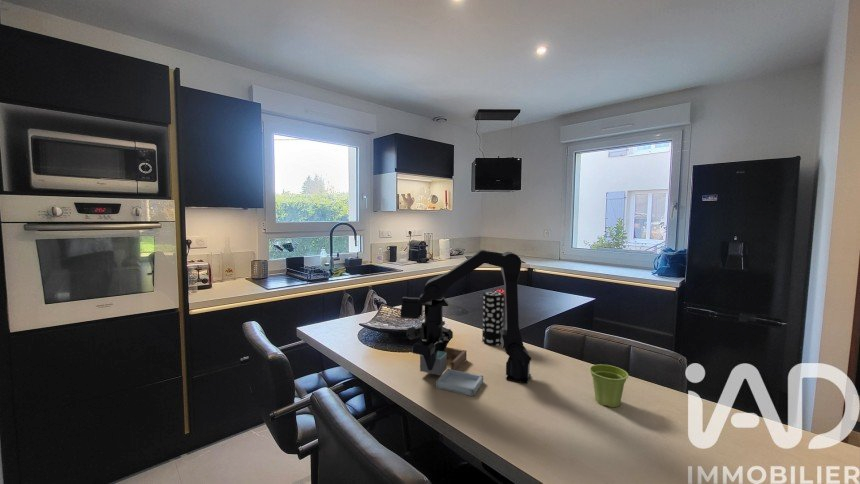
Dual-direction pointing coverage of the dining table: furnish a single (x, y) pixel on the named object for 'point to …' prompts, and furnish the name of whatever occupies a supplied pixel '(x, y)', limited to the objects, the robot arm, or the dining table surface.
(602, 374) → the plant pot
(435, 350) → the robot arm
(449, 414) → the dining table surface
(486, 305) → the spotted tube
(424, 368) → the teal rectangular block
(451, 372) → the tray
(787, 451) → the dining table surface
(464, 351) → the bay
